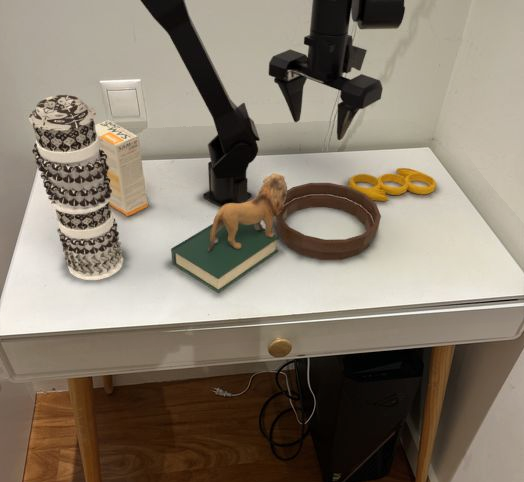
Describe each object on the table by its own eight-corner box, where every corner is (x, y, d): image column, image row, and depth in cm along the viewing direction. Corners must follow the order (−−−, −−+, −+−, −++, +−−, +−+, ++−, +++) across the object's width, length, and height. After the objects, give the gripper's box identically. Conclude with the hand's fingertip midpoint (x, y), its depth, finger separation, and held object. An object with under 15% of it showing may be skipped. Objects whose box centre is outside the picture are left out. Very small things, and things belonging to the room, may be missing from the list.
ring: (252, 231, 95) (253, 211, 92) (314, 191, 105) (317, 172, 102) (336, 276, 88) (339, 256, 85) (394, 229, 97) (399, 209, 94)
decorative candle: (55, 258, 89) (8, 98, 70) (108, 238, 93) (77, 82, 74) (80, 289, 84) (37, 127, 66) (136, 267, 88) (110, 107, 70)
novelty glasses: (442, 201, 104) (426, 173, 111) (444, 193, 103) (428, 166, 110) (353, 203, 103) (343, 174, 109) (355, 195, 101) (344, 167, 108)
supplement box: (149, 206, 99) (140, 135, 90) (127, 217, 97) (115, 145, 87) (120, 188, 103) (109, 118, 94) (98, 198, 101) (84, 127, 91)
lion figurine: (271, 214, 94) (274, 164, 87) (292, 229, 91) (297, 179, 85) (198, 245, 87) (195, 194, 81) (218, 263, 84) (217, 211, 78)
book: (172, 264, 89) (170, 248, 87) (232, 226, 96) (232, 211, 94) (218, 293, 84) (218, 277, 82) (278, 251, 92) (279, 236, 90)
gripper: (411, 32, 85) (390, 132, 96) (312, 3, 92) (303, 99, 104) (370, 51, 79) (353, 155, 90) (268, 18, 87) (264, 118, 98)
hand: (318, 130), depth 96 cm, fingers open, 9 cm apart
